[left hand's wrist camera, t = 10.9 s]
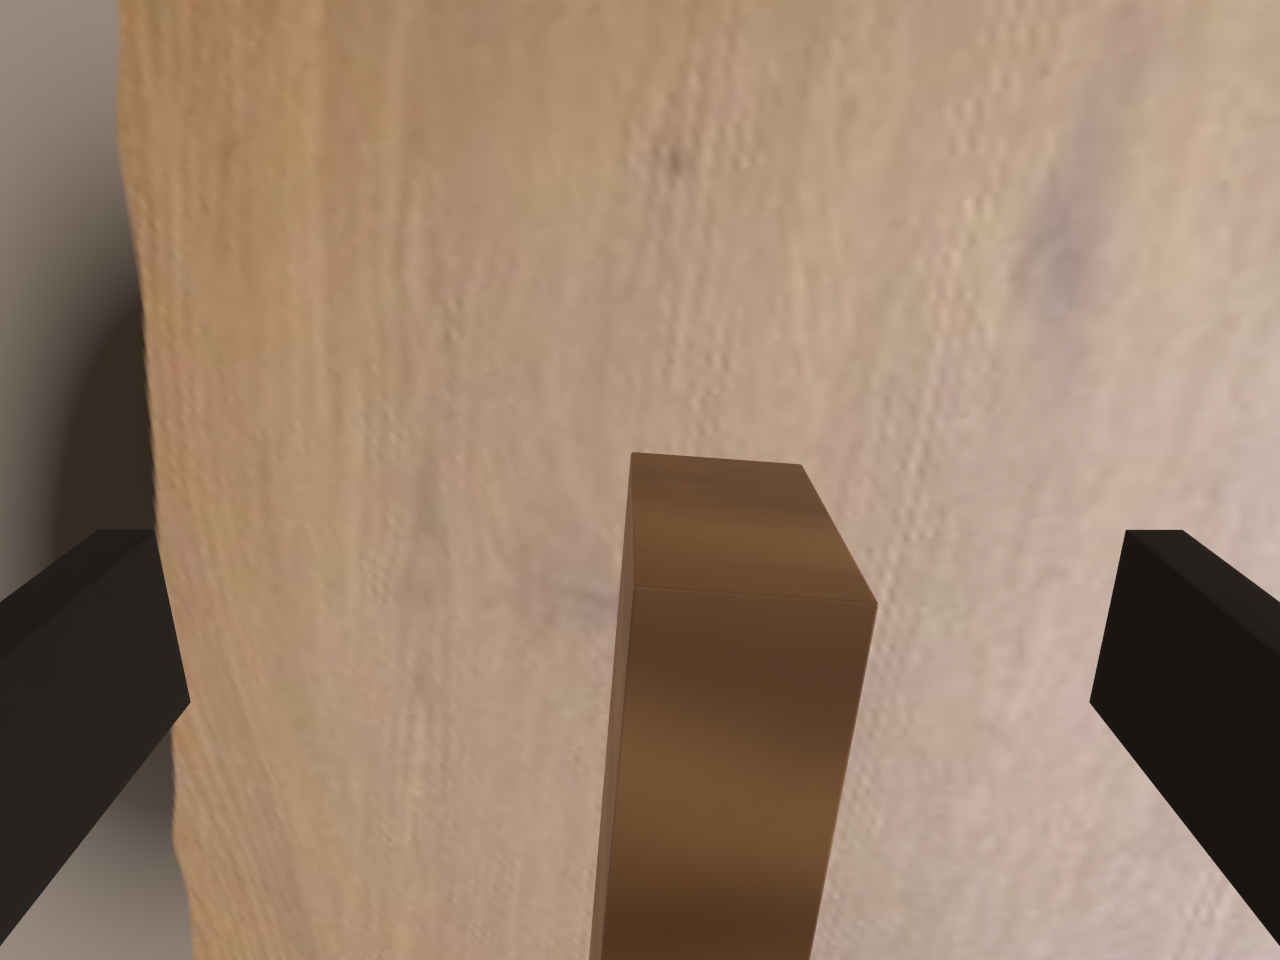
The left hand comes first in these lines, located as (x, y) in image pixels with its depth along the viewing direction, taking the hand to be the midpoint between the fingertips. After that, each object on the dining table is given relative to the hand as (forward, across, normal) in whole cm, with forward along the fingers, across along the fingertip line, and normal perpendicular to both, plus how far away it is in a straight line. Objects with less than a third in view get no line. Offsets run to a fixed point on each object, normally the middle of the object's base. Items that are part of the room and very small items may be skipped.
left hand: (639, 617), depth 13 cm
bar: (+12, +1, -15) cm, 19 cm away
